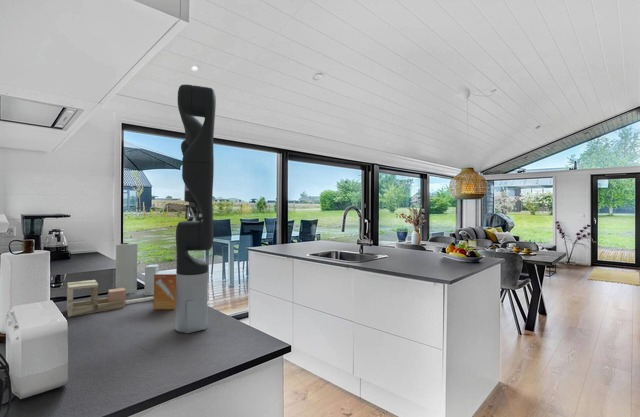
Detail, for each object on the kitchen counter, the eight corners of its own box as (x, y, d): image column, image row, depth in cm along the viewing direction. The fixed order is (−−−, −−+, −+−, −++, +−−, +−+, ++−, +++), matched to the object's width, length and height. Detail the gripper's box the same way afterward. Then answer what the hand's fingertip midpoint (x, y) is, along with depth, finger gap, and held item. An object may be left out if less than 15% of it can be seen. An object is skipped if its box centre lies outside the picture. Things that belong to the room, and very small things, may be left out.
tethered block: (168, 299, 131) (168, 284, 131) (109, 308, 118) (110, 292, 118) (164, 296, 134) (165, 282, 134) (107, 305, 121) (108, 289, 121)
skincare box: (155, 295, 137) (155, 266, 137) (144, 295, 136) (144, 267, 135) (158, 291, 142) (159, 264, 142) (148, 291, 141) (148, 264, 141)
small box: (152, 310, 117) (153, 274, 117) (159, 304, 123) (159, 270, 123) (176, 309, 118) (177, 273, 118) (181, 304, 124) (182, 270, 124)
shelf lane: (123, 307, 119) (123, 281, 119) (68, 316, 108) (68, 287, 108) (119, 302, 126) (119, 277, 126) (66, 310, 115) (67, 282, 115)
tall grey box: (111, 293, 137) (112, 243, 137) (125, 290, 143) (126, 242, 143) (123, 296, 134) (124, 244, 134) (136, 292, 140) (137, 243, 140)
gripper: (210, 190, 126) (210, 231, 126) (197, 191, 136) (197, 229, 137) (191, 189, 121) (190, 232, 121) (179, 190, 132) (178, 230, 132)
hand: (194, 230), depth 129 cm, fingers open, 8 cm apart
